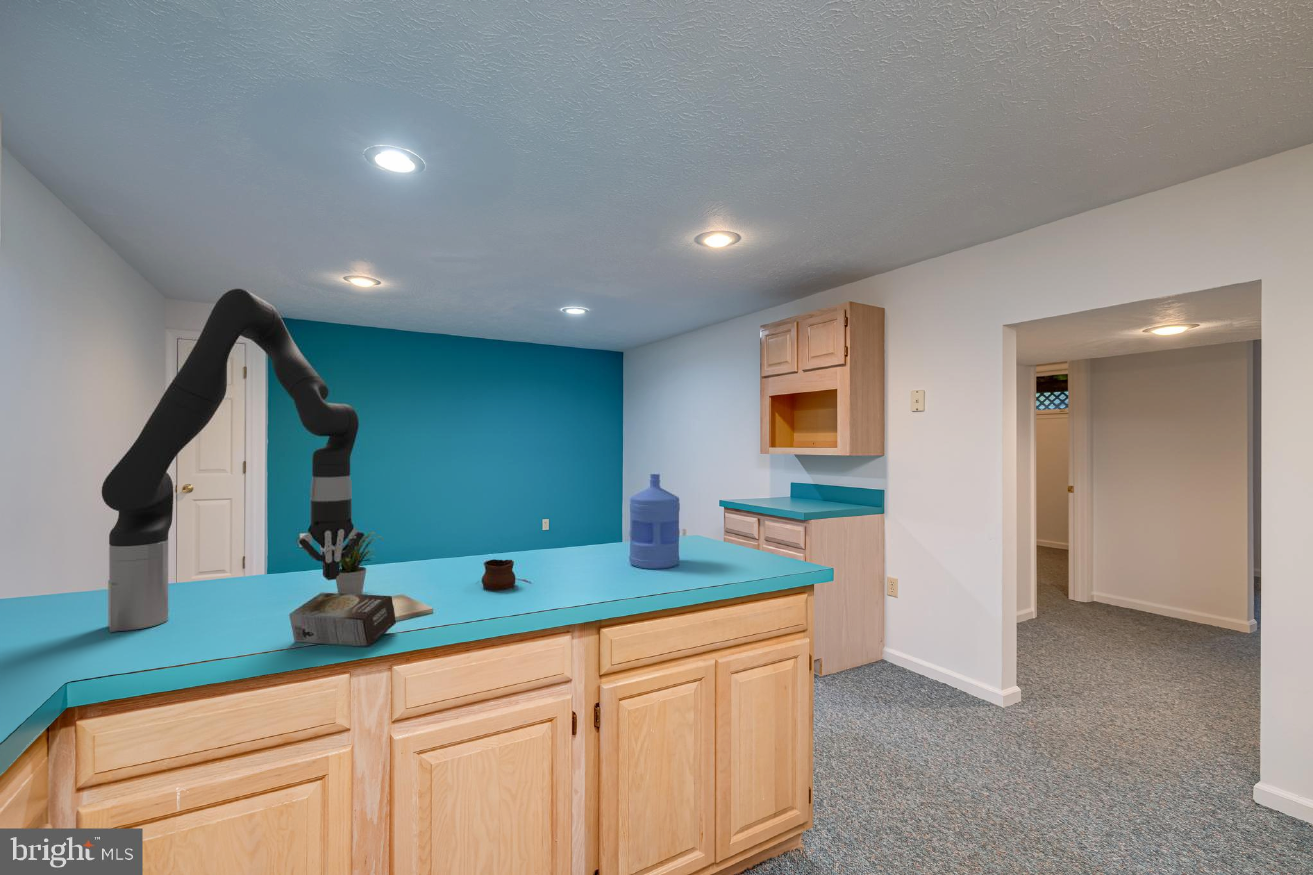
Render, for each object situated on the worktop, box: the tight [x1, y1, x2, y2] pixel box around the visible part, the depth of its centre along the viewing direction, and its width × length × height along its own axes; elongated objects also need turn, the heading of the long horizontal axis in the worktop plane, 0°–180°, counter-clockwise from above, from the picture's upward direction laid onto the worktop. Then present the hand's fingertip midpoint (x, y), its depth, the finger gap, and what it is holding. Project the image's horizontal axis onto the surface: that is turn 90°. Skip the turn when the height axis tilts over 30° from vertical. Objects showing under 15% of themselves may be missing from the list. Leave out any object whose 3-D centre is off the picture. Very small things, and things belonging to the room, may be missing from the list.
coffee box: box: [288, 592, 397, 648], centre depth 114 cm, size 9×6×16 cm
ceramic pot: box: [481, 558, 533, 592], centre depth 152 cm, size 18×18×7 cm
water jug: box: [628, 473, 681, 570], centre depth 180 cm, size 16×16×28 cm
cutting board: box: [391, 593, 434, 622], centre depth 128 cm, size 19×16×1 cm
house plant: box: [335, 531, 382, 595], centre depth 144 cm, size 14×14×16 cm
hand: (331, 579), depth 122 cm, fingers closed
